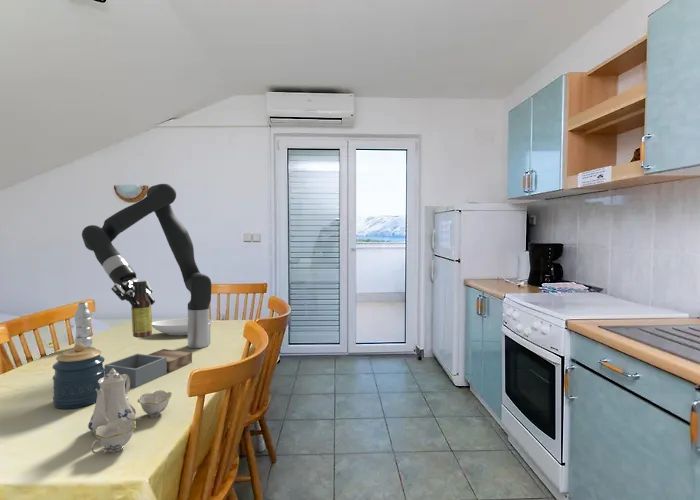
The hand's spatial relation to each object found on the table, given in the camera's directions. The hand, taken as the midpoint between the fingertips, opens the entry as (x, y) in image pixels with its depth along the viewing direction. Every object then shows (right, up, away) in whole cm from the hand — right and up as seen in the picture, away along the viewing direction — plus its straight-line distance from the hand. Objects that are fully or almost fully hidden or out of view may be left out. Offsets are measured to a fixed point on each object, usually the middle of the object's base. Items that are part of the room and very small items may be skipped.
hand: (145, 304), depth 136 cm
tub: (-3, -26, -1) cm, 26 cm away
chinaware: (+14, -28, -36) cm, 48 cm away
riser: (+1, -25, +13) cm, 28 cm away
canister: (-10, -27, -19) cm, 34 cm away
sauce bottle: (-2, -11, +1) cm, 12 cm away
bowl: (-13, -24, +60) cm, 66 cm away
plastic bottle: (-46, -24, +33) cm, 61 cm away
